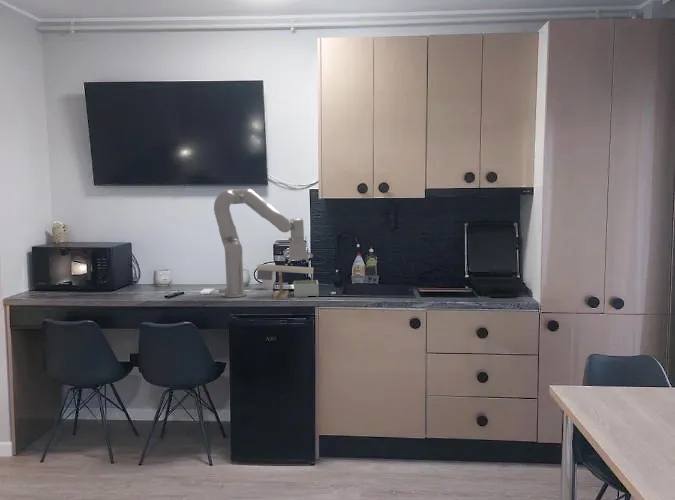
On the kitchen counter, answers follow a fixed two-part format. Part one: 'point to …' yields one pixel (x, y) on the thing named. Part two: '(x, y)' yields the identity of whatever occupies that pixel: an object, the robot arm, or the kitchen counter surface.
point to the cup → (306, 288)
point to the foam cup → (269, 282)
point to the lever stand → (281, 289)
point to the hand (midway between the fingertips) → (298, 269)
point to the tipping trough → (266, 270)
